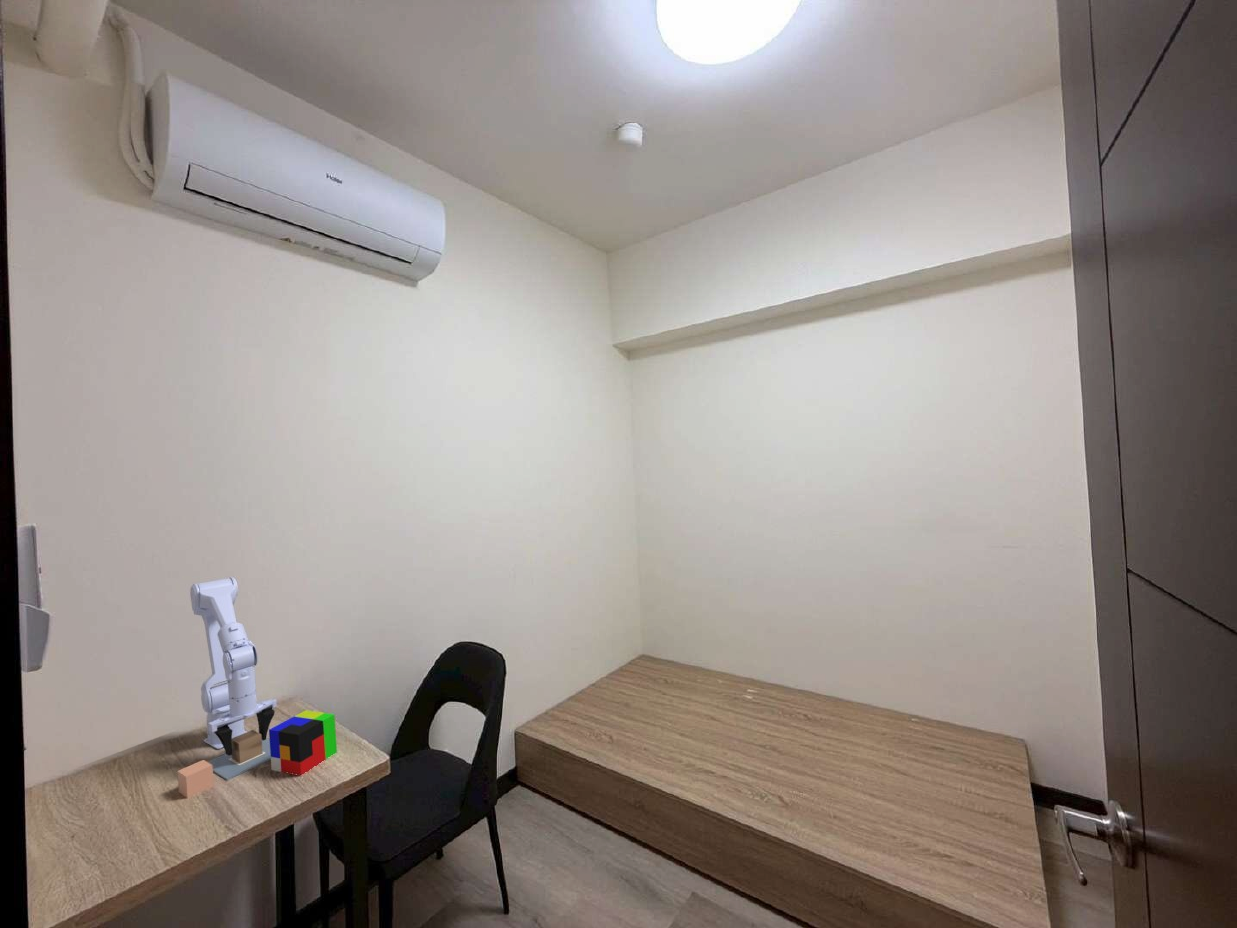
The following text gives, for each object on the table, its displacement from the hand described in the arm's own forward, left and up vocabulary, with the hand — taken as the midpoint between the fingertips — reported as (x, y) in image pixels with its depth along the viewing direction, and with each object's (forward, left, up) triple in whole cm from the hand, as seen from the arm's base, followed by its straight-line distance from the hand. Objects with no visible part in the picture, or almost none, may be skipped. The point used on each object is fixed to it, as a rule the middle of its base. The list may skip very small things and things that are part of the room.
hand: (246, 746), depth 133 cm
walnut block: (0, 0, -2) cm, 3 cm away
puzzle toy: (+16, +6, -3) cm, 18 cm away
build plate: (0, 0, -3) cm, 3 cm away
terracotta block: (+4, -12, -3) cm, 13 cm away
